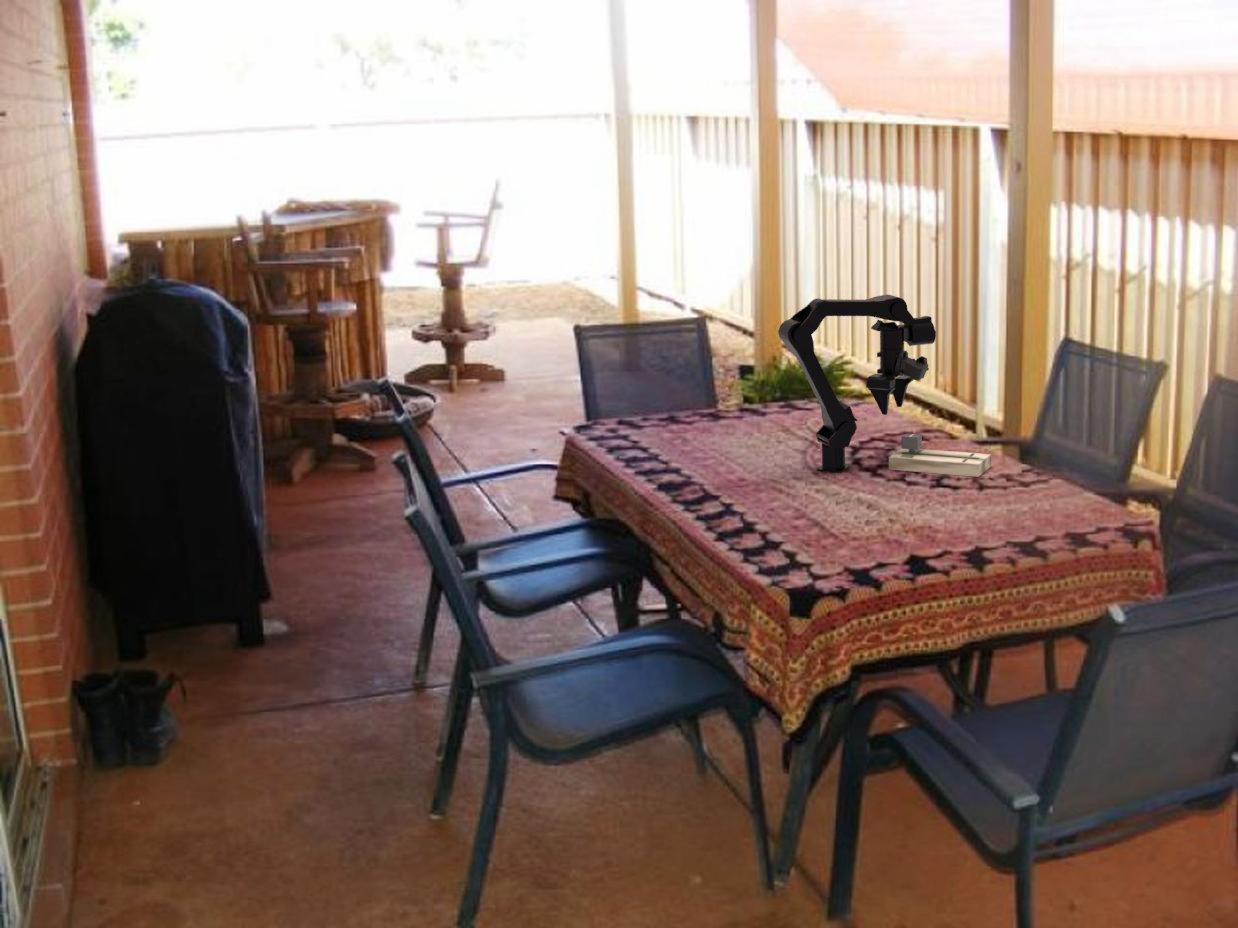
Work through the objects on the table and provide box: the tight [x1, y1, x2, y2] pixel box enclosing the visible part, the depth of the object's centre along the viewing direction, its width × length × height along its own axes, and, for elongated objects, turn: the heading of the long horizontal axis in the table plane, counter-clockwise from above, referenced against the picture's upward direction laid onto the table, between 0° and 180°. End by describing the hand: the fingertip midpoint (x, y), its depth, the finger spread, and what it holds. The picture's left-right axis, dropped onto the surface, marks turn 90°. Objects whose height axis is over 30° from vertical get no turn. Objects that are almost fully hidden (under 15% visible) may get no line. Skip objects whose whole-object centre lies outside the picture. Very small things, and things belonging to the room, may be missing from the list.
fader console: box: [888, 448, 992, 478], centre depth 363 cm, size 10×22×3 cm, turn 60°
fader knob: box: [901, 433, 923, 453], centre depth 365 cm, size 3×4×4 cm
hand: (892, 410), depth 369 cm, fingers open, 9 cm apart
